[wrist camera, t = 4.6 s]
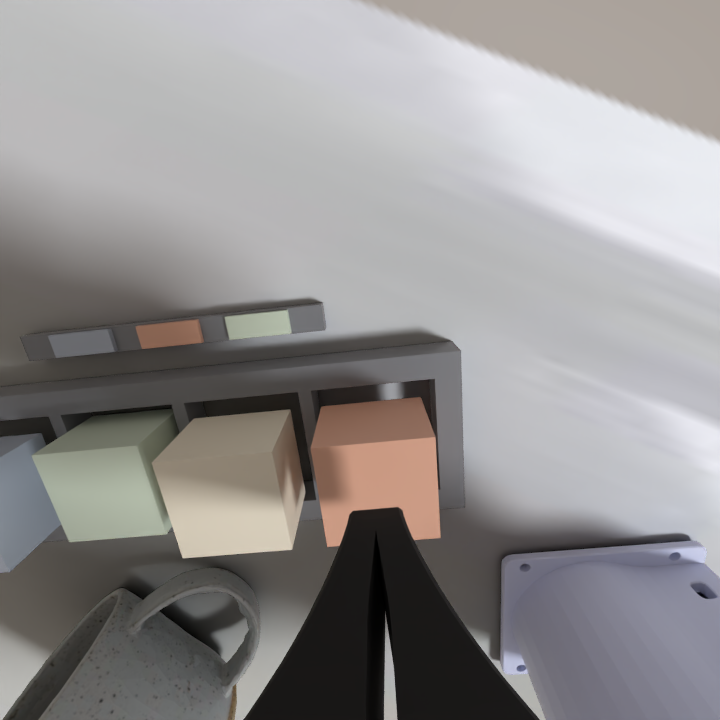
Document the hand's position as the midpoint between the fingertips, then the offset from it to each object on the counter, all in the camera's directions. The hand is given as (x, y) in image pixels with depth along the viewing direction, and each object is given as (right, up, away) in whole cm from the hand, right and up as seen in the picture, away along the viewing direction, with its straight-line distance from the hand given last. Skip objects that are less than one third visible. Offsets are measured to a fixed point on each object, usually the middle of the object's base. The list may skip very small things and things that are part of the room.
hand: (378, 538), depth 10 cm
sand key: (-5, +1, +5) cm, 7 cm away
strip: (-8, +6, +5) cm, 11 cm away
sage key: (-10, +1, +6) cm, 12 cm away
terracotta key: (0, +1, +5) cm, 5 cm away
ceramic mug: (-11, -9, +10) cm, 17 cm away
